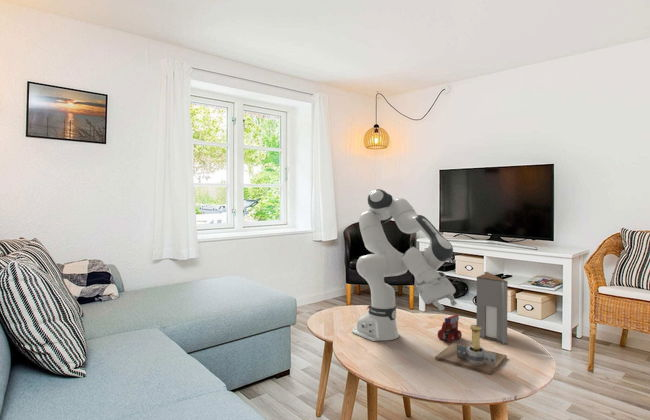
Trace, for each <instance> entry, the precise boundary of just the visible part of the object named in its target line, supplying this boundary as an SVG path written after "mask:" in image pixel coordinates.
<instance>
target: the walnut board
mask: <svg viewBox="0 0 650 420" xmlns="http://www.w3.org/2000/svg"><path fill="white" fill-rule="evenodd" d="M457 345H462V346H466V347H469V346H470V345H466V344H462V343H457V342H451V344H450V345H448V346H447V347H446V348H444V349H443V350H441V351H440V352H439V353H437V354H436V355H435V356H434V360H435V361H440V362H443V363H447V364H452V365H454V366H457V367H461V368H463V369H464V368H465V369H468V370H471V371H476V372H479V373H483V374H486V375H489V376H492V375H493V374H494V373H495V371H496V370H498V369H499V368H500V366H501V365H502V364H503V363H504V362H505V360H507V359H508V355H506V354H503V353H499V352H494V351H491V350H487V349H484V350H485V351H486V352H490V353H495V354H496V361H495V367H492V366H488V365H484V364H483V365H473V364H469V363H468V362H467V360H465V359H462V358H458V357H457Z"/></svg>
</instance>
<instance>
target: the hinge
mask: <svg viewBox="0 0 650 420" xmlns="http://www.w3.org/2000/svg"><path fill="white" fill-rule="evenodd" d="M468 346H469V347H466V346H462V345H457V357H458V358H462V359H465V360H467V362H468V363H469V364H473V365H483V364H484V365H488V366H492V367H495V361H496V354H495V353H490V352H486V351H485V350H486V349H484V347H481V346H480V352H475V351H472V345H468Z"/></svg>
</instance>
